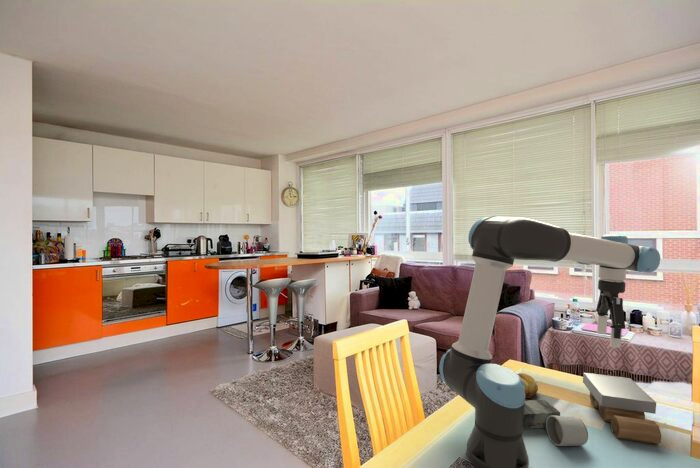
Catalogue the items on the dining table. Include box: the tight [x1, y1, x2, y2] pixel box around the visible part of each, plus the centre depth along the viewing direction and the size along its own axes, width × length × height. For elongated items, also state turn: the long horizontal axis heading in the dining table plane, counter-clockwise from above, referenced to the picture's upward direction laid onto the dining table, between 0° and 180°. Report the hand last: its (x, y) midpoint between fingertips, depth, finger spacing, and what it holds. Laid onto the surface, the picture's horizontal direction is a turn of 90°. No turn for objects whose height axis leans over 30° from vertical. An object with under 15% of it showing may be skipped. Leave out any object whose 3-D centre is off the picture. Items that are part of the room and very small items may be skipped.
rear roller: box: [589, 391, 599, 409], centre depth 120 cm, size 6×10×6 cm, turn 74°
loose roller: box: [610, 415, 662, 445], centre depth 104 cm, size 6×10×6 cm, turn 74°
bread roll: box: [517, 372, 539, 399], centre depth 128 cm, size 13×10×8 cm
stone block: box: [523, 399, 561, 430], centre depth 112 cm, size 9×14×5 cm, turn 93°
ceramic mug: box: [545, 415, 589, 447], centre depth 103 cm, size 11×8×8 cm
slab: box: [582, 372, 657, 415], centre depth 116 cm, size 14×16×4 cm
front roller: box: [598, 404, 646, 423], centre depth 112 cm, size 6×10×6 cm, turn 74°
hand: (608, 340), depth 124 cm, fingers open, 13 cm apart
